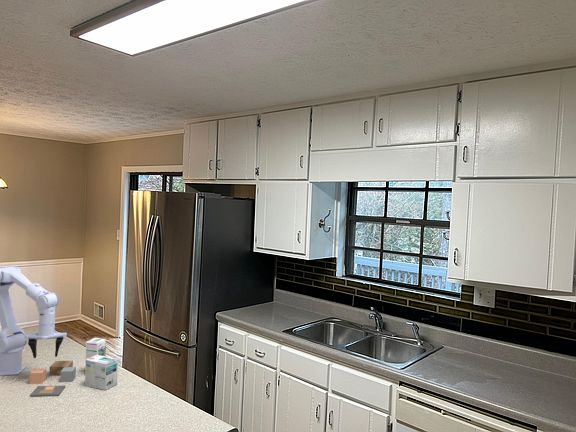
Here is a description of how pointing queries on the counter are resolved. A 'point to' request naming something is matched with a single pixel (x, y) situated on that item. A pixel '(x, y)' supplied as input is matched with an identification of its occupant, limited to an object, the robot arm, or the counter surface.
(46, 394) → the card
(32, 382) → the terracotta block
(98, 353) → the syrup box
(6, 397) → the counter surface
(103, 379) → the light bulb box
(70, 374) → the slate-grey block
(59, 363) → the walnut block
